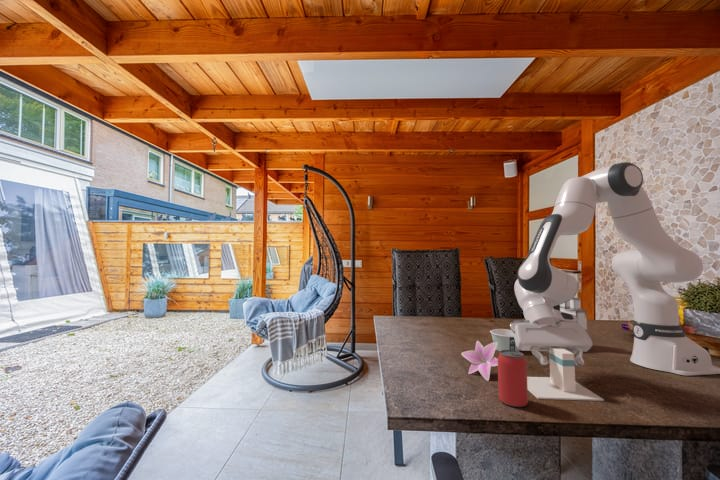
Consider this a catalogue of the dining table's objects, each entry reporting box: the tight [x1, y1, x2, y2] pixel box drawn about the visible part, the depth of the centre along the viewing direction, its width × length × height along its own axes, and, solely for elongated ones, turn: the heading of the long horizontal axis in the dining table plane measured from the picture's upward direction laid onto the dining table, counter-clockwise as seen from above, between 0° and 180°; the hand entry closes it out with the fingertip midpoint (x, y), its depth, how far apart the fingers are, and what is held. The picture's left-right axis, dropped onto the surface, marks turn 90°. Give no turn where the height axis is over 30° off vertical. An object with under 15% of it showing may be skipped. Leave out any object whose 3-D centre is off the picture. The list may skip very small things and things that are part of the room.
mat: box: [527, 376, 605, 402], centre depth 84 cm, size 16×14×1 cm
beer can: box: [497, 350, 529, 408], centre depth 77 cm, size 7×7×12 cm
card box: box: [548, 347, 576, 392], centre depth 85 cm, size 3×6×10 cm, turn 176°
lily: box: [461, 340, 498, 382], centre depth 96 cm, size 12×12×10 cm
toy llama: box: [559, 296, 588, 331], centre depth 124 cm, size 8×18×20 cm, turn 101°
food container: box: [489, 328, 521, 352], centre depth 121 cm, size 12×12×6 cm
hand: (562, 364), depth 84 cm, fingers open, 8 cm apart
